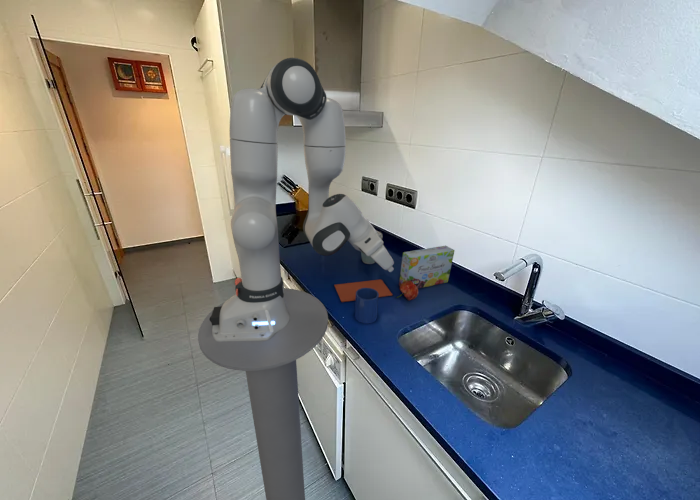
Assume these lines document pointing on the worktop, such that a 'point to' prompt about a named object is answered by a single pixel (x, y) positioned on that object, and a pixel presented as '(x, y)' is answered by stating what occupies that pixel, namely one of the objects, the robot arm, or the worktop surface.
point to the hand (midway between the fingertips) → (384, 263)
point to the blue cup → (366, 305)
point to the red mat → (349, 289)
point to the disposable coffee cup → (368, 259)
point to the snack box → (427, 266)
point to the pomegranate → (409, 290)
